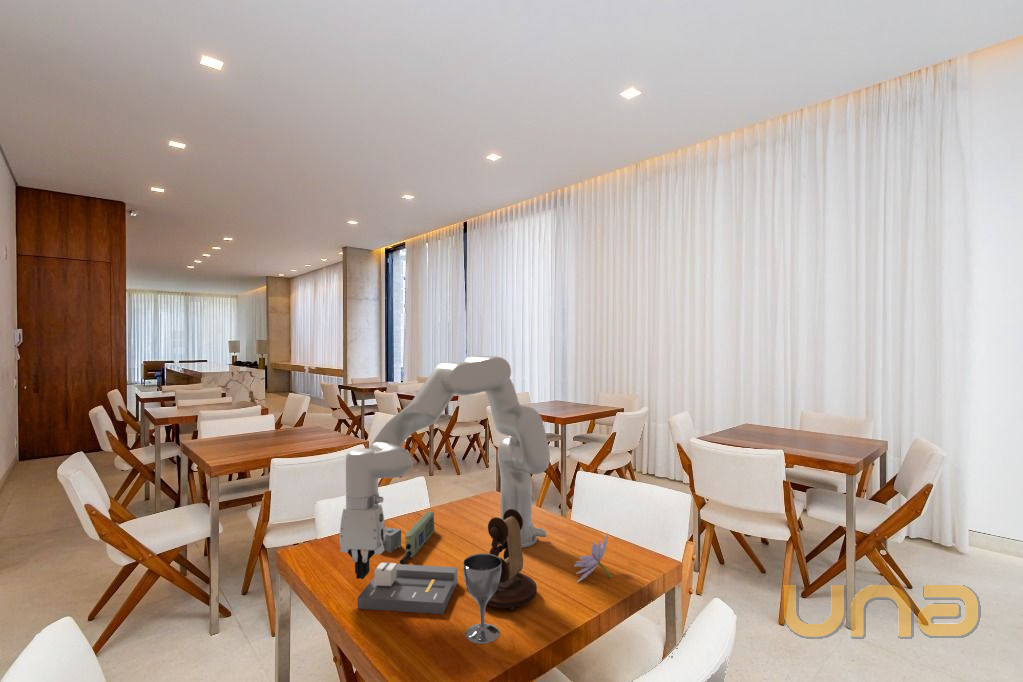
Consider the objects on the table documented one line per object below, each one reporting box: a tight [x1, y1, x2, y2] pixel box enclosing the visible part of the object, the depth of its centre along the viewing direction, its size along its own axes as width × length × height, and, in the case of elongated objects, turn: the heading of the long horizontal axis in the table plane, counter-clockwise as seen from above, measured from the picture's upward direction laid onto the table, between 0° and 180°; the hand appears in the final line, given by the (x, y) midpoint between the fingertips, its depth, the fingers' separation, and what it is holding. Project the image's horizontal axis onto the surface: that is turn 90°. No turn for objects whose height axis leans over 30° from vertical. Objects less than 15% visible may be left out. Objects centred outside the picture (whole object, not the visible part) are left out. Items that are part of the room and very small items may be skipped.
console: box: [357, 563, 458, 615], centre depth 117 cm, size 20×14×4 cm
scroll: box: [486, 509, 538, 613], centre depth 116 cm, size 15×15×20 cm
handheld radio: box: [399, 510, 436, 565], centre depth 145 cm, size 7×3×25 cm
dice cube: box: [383, 526, 402, 553], centre depth 144 cm, size 5×5×5 cm
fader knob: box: [374, 561, 398, 586], centre depth 118 cm, size 4×4×4 cm
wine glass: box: [462, 552, 501, 645], centre depth 102 cm, size 8×8×15 cm
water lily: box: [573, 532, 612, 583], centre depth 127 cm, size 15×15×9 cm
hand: (362, 576), depth 118 cm, fingers closed
